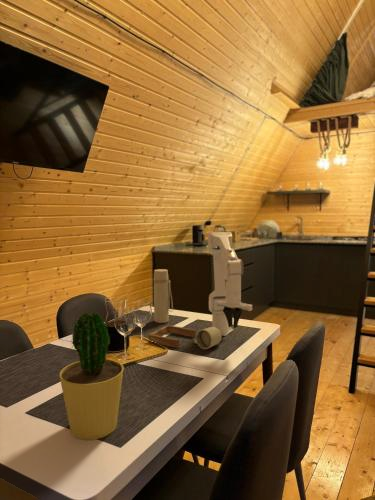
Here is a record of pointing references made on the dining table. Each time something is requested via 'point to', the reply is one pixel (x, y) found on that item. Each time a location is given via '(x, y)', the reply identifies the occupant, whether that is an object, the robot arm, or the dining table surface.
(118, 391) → the potted cactus
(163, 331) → the walnut bracket
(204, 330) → the ceramic mug
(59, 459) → the dining table surface
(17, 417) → the dining table surface
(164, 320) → the water bottle
